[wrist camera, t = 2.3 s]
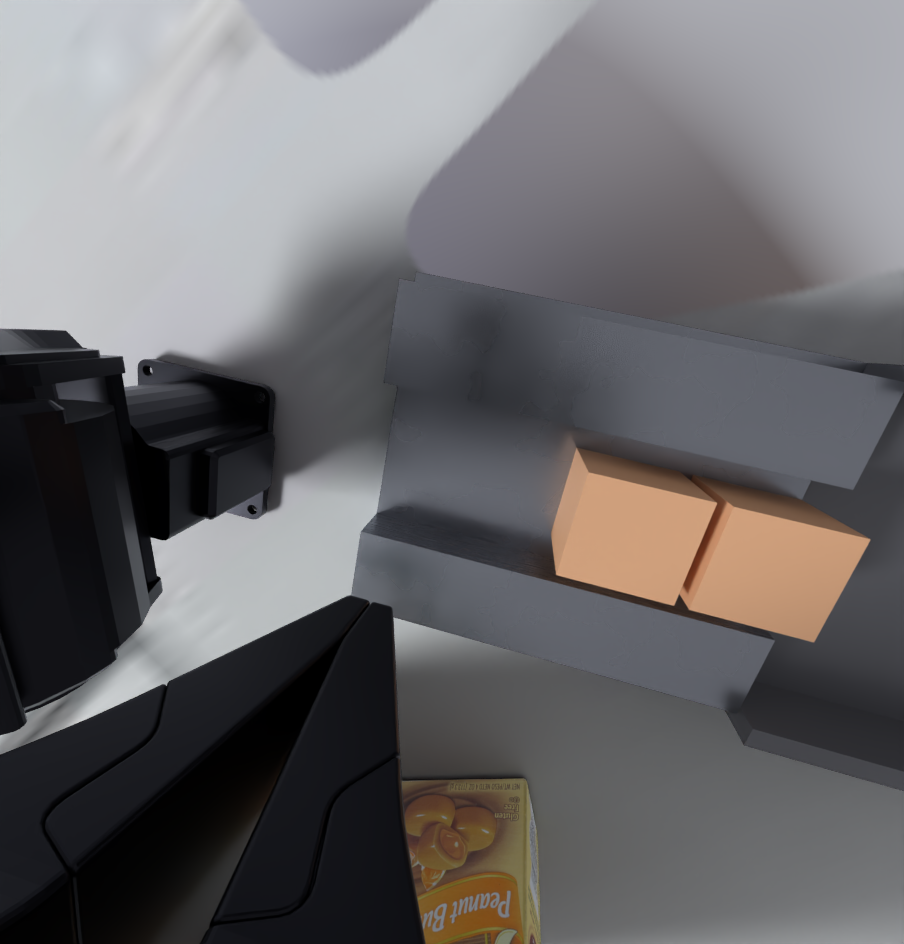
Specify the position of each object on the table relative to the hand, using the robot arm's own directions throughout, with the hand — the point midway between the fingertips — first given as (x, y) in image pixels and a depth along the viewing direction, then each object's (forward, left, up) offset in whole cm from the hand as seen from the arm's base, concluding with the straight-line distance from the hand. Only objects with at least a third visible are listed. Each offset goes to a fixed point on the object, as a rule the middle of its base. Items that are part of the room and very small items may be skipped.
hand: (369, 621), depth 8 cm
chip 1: (+6, 0, -11) cm, 13 cm away
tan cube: (+11, 0, -11) cm, 15 cm away
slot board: (+5, 0, -12) cm, 13 cm away
